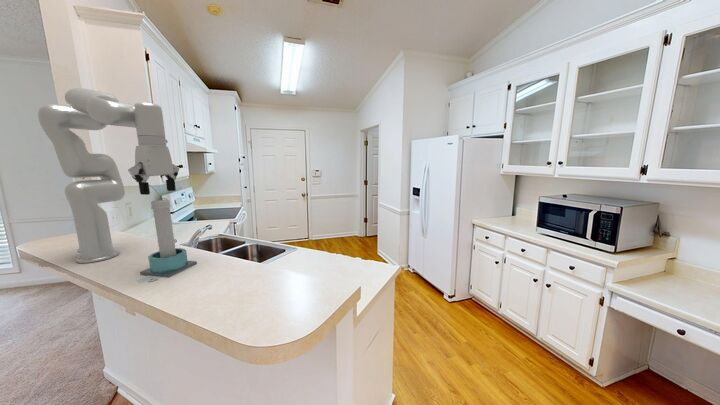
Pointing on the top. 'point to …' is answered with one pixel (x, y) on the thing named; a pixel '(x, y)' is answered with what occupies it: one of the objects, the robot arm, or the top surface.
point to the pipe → (164, 227)
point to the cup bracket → (168, 264)
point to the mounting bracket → (148, 279)
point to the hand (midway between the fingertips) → (159, 192)
